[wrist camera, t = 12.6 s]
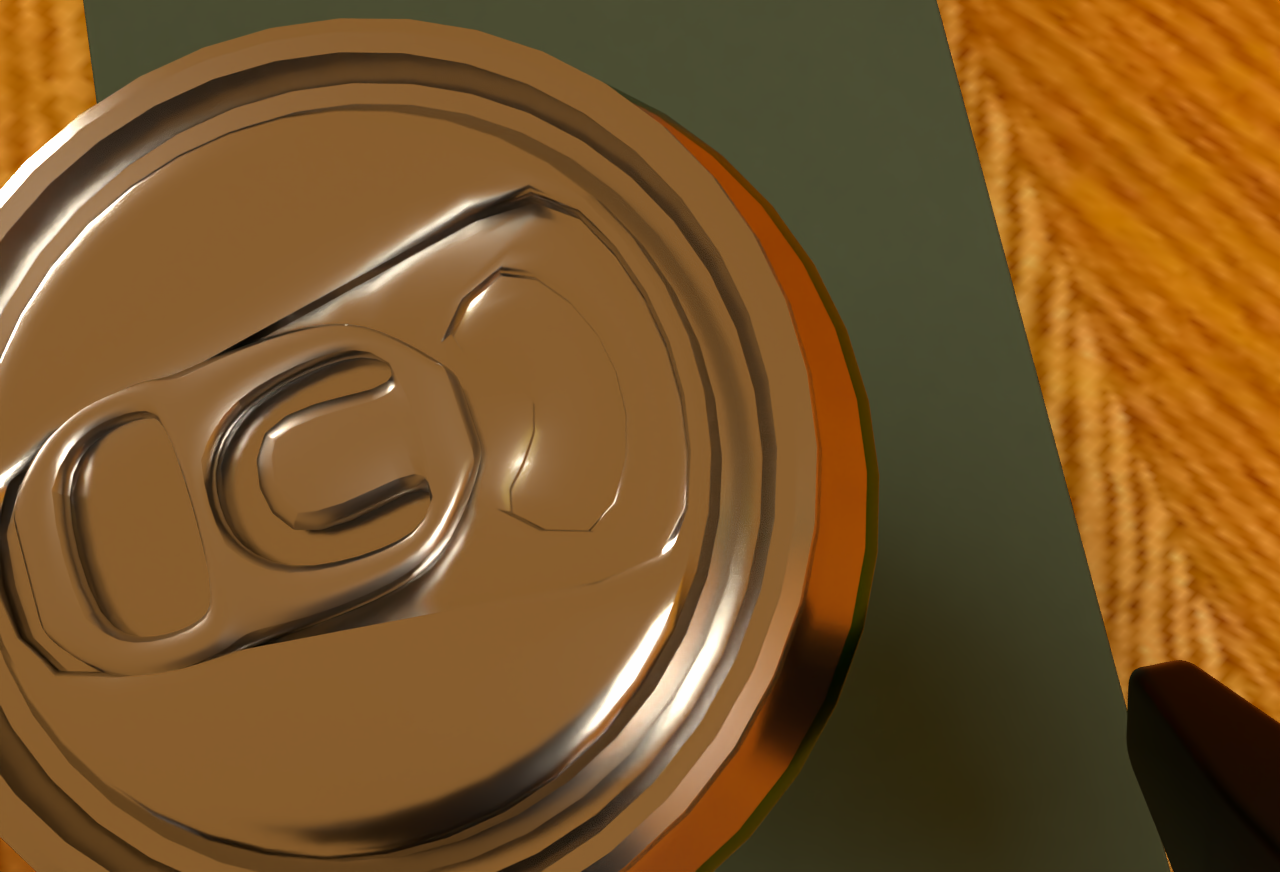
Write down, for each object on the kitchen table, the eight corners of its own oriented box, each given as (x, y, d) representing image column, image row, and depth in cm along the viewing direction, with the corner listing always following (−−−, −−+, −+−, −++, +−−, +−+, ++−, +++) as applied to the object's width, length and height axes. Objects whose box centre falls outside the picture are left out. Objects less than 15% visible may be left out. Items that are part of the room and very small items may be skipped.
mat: (1204, 1035, 16) (1219, 1047, 16) (259, 1213, 17) (245, 1230, 16) (827, -375, 20) (830, -400, 19) (69, -190, 20) (53, -210, 20)
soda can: (843, 693, 17) (1102, 835, 5) (497, 816, 17) (-73, 1251, 5) (716, 356, 18) (673, -214, 6) (389, 475, 18) (-312, 156, 6)
